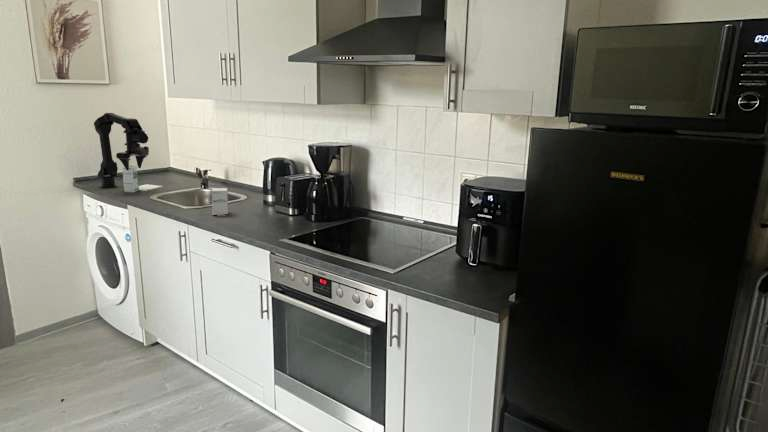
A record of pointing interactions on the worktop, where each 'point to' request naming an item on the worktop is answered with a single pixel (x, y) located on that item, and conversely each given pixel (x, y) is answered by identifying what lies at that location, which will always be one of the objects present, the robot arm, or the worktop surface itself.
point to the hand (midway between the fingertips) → (133, 169)
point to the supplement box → (219, 201)
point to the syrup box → (130, 179)
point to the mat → (148, 187)
